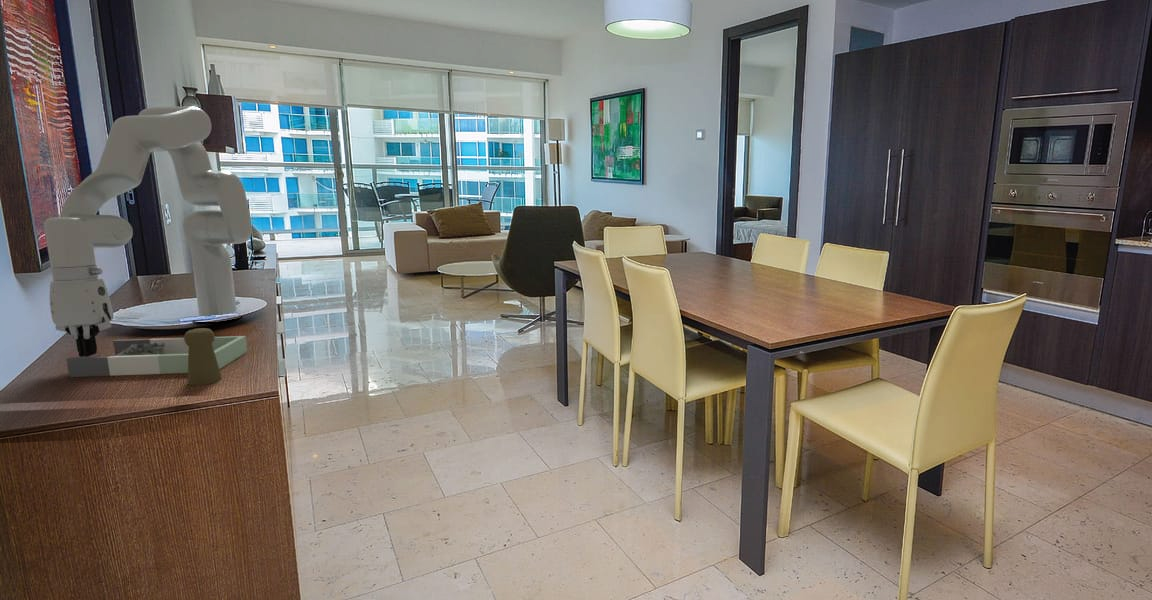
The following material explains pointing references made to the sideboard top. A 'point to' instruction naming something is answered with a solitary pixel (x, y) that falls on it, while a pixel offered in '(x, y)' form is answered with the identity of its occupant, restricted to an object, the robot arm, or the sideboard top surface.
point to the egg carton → (143, 349)
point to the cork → (201, 357)
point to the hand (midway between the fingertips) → (88, 354)
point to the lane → (153, 358)
